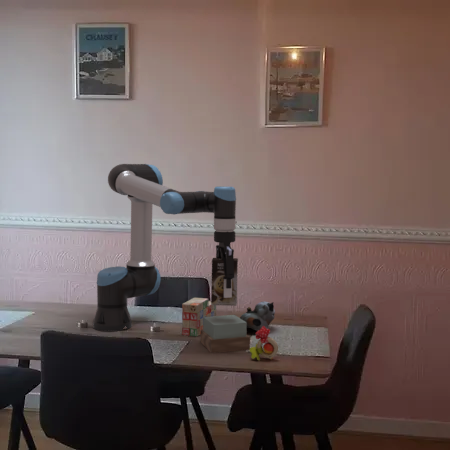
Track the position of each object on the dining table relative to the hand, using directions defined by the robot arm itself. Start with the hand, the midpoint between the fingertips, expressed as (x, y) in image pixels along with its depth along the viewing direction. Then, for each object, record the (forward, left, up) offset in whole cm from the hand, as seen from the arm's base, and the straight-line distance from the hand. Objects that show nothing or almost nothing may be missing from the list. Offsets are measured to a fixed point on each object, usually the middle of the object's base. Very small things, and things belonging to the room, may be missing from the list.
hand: (224, 294), depth 215 cm
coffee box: (0, 0, -3) cm, 3 cm away
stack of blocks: (-26, -2, -19) cm, 32 cm away
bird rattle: (+17, +9, -19) cm, 27 cm away
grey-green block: (-1, 0, -14) cm, 14 cm away
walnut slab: (-1, +1, -19) cm, 19 cm away
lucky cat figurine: (-19, +19, -19) cm, 33 cm away
